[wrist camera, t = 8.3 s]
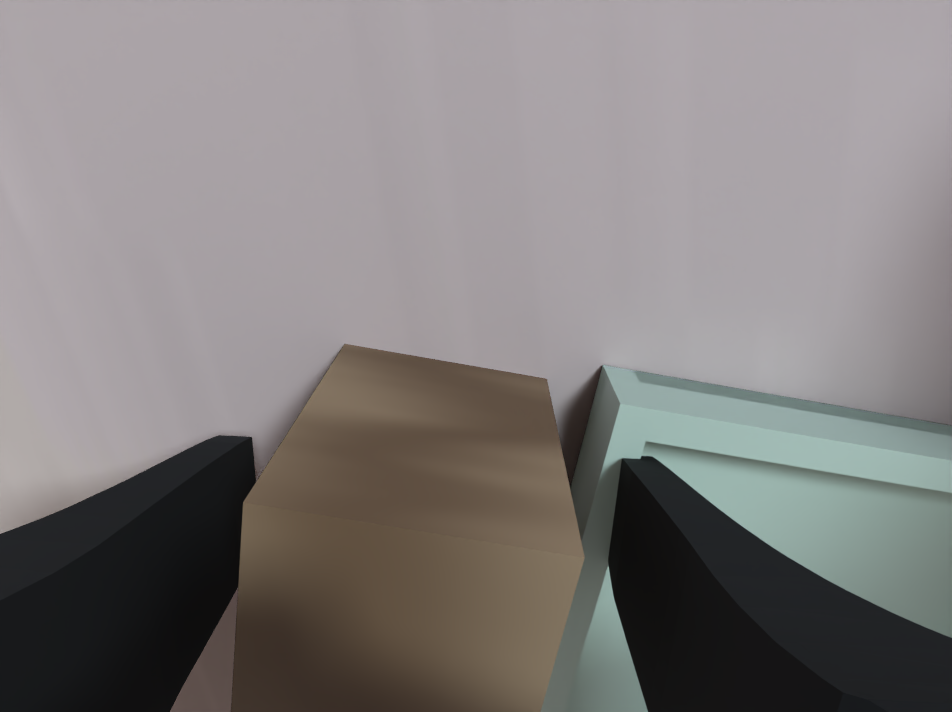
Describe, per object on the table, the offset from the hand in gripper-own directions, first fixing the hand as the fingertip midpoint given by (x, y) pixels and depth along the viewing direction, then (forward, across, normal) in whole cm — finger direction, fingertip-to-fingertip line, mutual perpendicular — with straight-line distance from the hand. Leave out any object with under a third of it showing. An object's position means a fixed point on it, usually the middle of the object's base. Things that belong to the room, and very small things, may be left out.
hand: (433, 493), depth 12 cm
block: (+2, 0, 0) cm, 2 cm away
